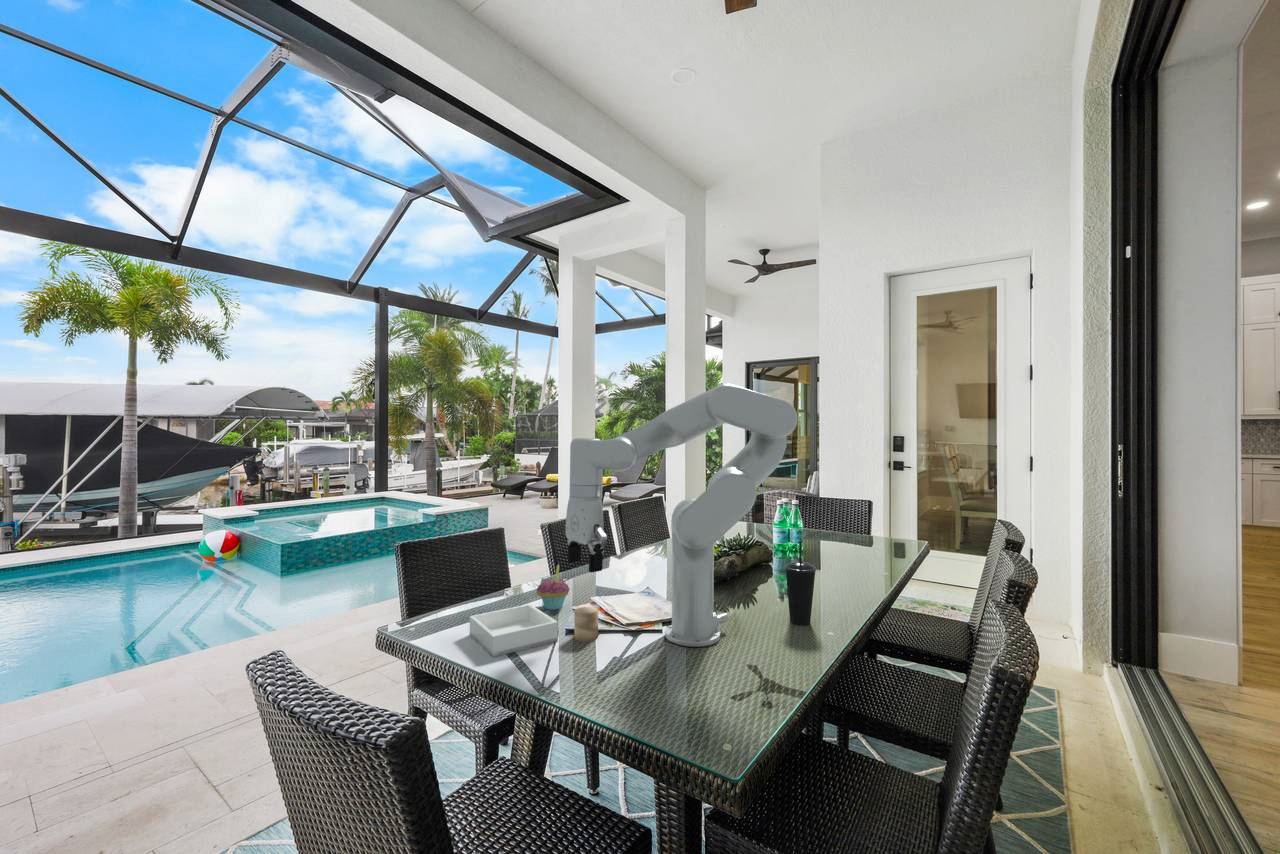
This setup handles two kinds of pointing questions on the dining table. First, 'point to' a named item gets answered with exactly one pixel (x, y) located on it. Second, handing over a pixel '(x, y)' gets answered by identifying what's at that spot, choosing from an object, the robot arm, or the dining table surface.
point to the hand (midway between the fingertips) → (584, 566)
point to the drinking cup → (800, 589)
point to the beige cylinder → (586, 624)
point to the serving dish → (513, 629)
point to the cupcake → (553, 592)
